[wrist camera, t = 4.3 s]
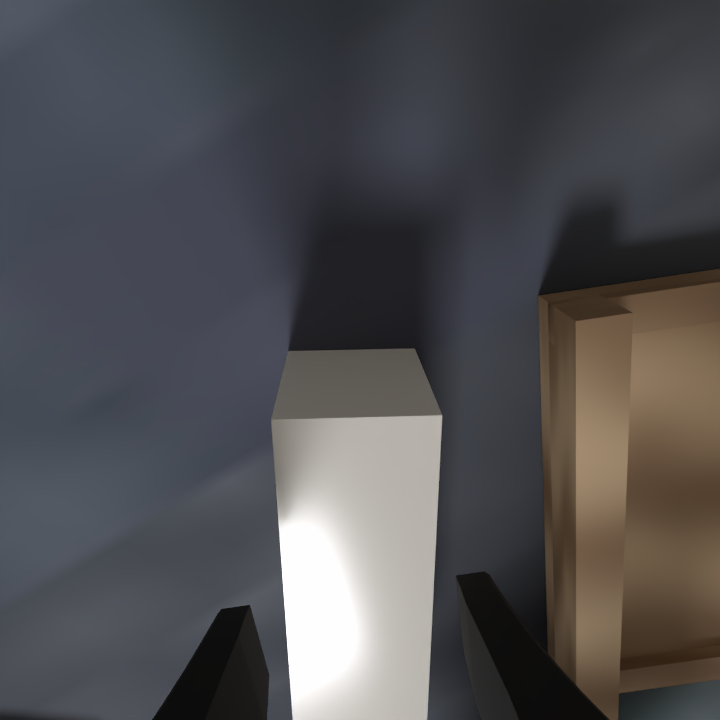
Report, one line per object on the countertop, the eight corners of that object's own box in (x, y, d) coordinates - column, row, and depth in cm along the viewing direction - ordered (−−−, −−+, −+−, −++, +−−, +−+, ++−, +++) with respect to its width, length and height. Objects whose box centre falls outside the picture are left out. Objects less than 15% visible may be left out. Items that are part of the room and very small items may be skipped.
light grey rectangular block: (404, 668, 22) (423, 803, 18) (307, 672, 22) (299, 810, 18) (413, 345, 17) (442, 414, 13) (288, 348, 17) (271, 419, 13)
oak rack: (766, 641, 22) (823, 705, 20) (548, 672, 22) (576, 740, 20) (829, 252, 17) (922, 270, 14) (538, 295, 17) (575, 321, 14)
